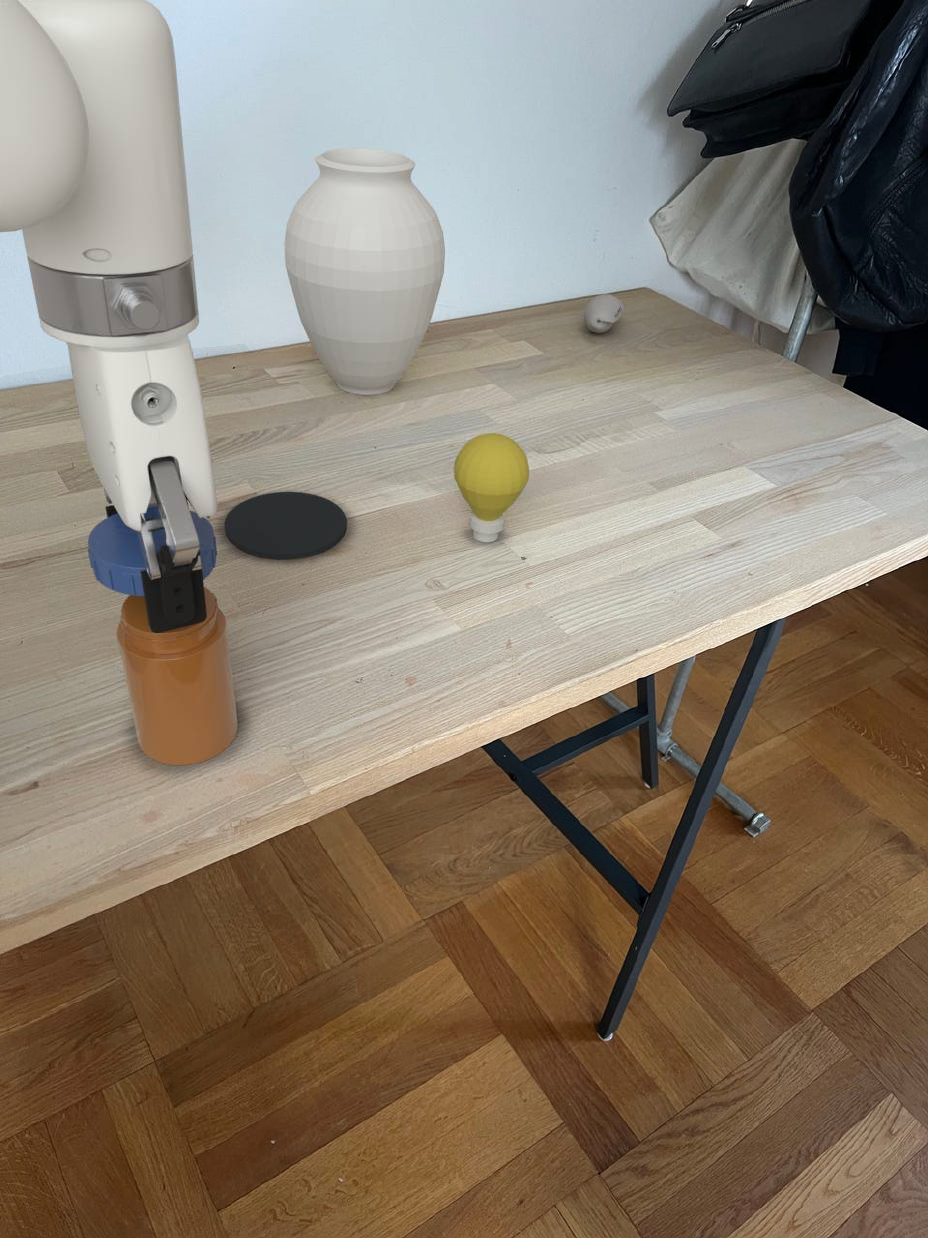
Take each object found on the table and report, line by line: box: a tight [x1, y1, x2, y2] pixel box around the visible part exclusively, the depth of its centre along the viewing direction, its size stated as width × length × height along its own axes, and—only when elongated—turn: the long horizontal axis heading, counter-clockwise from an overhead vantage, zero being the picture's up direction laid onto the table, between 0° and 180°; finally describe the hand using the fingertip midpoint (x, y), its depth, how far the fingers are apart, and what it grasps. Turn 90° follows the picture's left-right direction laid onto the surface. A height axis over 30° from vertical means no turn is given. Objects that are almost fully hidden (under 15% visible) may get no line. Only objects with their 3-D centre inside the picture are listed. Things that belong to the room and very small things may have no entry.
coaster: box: [224, 491, 348, 560], centre depth 85 cm, size 11×11×1 cm
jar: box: [116, 586, 239, 766], centre depth 60 cm, size 7×7×11 cm
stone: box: [583, 293, 625, 334], centre depth 131 cm, size 10×5×5 cm, turn 165°
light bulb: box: [453, 432, 530, 543], centre depth 83 cm, size 7×7×10 cm
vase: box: [284, 147, 446, 396], centre depth 105 cm, size 18×18×25 cm
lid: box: [87, 506, 218, 596], centre depth 54 cm, size 7×7×2 cm
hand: (159, 588), depth 56 cm, fingers closed on lid, 7 cm apart
